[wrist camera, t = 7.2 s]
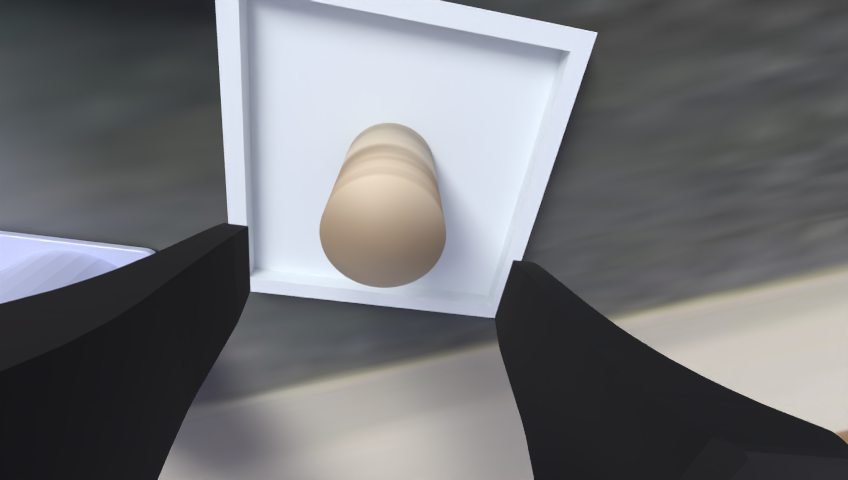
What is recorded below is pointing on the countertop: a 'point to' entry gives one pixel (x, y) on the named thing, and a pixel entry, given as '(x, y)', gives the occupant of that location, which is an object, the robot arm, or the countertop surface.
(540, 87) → the white tray
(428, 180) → the birch peg
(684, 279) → the countertop surface
